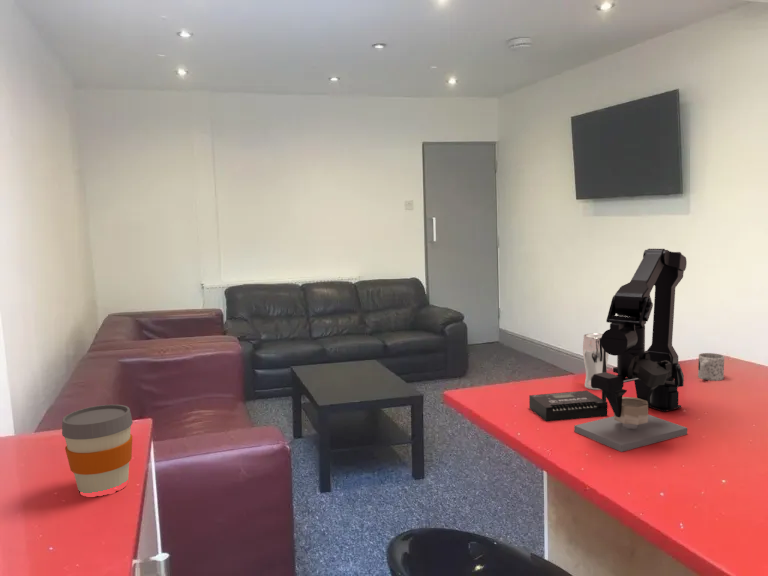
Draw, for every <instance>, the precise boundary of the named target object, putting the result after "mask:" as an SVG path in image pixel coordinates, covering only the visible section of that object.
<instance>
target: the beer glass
mask: <svg viewBox="0 0 768 576" xmlns="http://www.w3.org/2000/svg"><path fill="white" fill-rule="evenodd" d="M602 335H603V333H586V334H584V335H583V343H582V355H583V362H584V367H585V381H584V387H585V388H586V389H589V390H593V391H602V390H601V389H598V388H595V387H592V386H591V377H592V376H593V375H594V374H598V373H602V368H603V350H604V349H603V348H602V346H601V337H602ZM609 356H610V354H608V353H607V352H606V369H607V366H608V361H609Z"/></svg>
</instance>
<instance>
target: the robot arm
mask: <svg viewBox="0 0 768 576" xmlns="http://www.w3.org/2000/svg"><path fill="white" fill-rule="evenodd" d="M642 255H643V256H642V260H641V261H640V263H639V265H638V267H637V269H636V270H635V273H634V275H633V276H632V277H631V279H630V282H627V283H625V284H623V285H621V286H620V287H619V288H618V290H617V291H616V292H615V294H614V295H613V296H612V299H611V301H610V305H609V310H608V312H607V317H606V323H610V324H609V329H607V330H606V331H604V332H603V333H602V334H603V335H602V337H601V346H602V348H603V349H604V351H605V352H607V353H608V354H609V356H610V355H611V356H616V357H617V358H616V359H617V360H616V363H617V365H616V367H615V366H614V367H613V368H612V371H613V373H614V374H613V373H610V372H603V373H598V374H594V375H593V376H592V377H591V386H592V387H595V388H598V389H601V390H600V391H601V392H602V391H603V392H604V394H605V396H606V400H607V402H608V403H609V405H610V408H611V409H612V411H613V414H614V413H615V416H616V417H621V411H622V397H624V395H625V394H626V393H627V391H628V389H623V387H624V384H625V383H629V382H634V387H635V394H636V398H640V399H643V400H646V401H647V402H648V408H651V409H654V410H658V411H660V412H669V411H673V410H678V409H682V405H681V404H679V394H680V393H679V391H678V388H682V387H684V386H685V385H684V381H685V379H684V377H685V375H684V372H683V370H682V367H681V365H680V363H679V355H678V353H677V352H676V350H675V348H674V346H673V335H674V334H673V333H674V318H675V317H674V315H675V300H676V287H677V286H678V284H680V282H681V280H683V278H684V273H685V271H686V269H687V257H686V256H685V255H684V254H682V252H681V251H670V250H668V249H665V248H647V249H644V251H643V254H642ZM653 288H654V299H653V301H654V303H653V302H652V298H651V292H652V290H653ZM652 310H653V315H652V316H653V319H652V332H651V333H652V336H651V338H652V339H651V345H650V346H649V347H648V348H647V350H646V324H647V322H648V321H649V319H650V316H651V313H652ZM615 373H616V374H615Z"/></svg>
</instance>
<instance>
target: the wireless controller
mask: <svg viewBox="0 0 768 576" xmlns="http://www.w3.org/2000/svg"><path fill="white" fill-rule="evenodd" d="M607 370H608V369H607V368H606V352H605V351H604V350H603V368H602V373H603V372H607ZM607 373H608V372H607ZM528 396H529V397H528V398H529V399H528V400H529V402H528V403H529V406H528V407H529V409H530V411H532V412H533V413H535V414H536V415H537V416H538V417H539V418H540V419H542V420H543V421H545V422H557V421H567V420H576V419H578V420H579V419H586V418H587V419H588V418H590V419H591V418H600V417H608V401H607V397H606V396H605V394H604V392H603V391H602V390H601V398H600V397H599V396H597V395H595V394H594V393H592V392H590V391H589V390H577V391H565V392H553V393H541V394H532V395H531V394H530V395H528Z"/></svg>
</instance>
